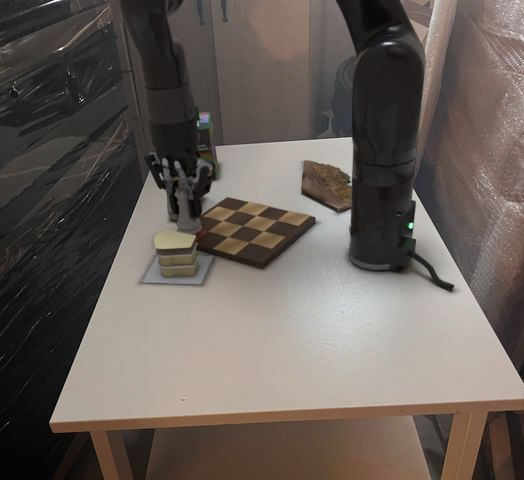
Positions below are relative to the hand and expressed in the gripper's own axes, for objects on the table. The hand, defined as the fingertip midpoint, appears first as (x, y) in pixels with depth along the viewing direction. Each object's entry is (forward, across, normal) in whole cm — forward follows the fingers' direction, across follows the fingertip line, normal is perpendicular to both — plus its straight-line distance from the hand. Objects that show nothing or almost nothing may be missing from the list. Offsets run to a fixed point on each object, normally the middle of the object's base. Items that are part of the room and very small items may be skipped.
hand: (187, 214), depth 102 cm
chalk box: (+5, -18, +25) cm, 31 cm away
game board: (+5, +7, +7) cm, 11 cm away
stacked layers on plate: (+5, +4, -9) cm, 11 cm away
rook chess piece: (+3, 0, 0) cm, 3 cm away
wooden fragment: (+5, +10, +31) cm, 33 cm away
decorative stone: (+5, -9, +10) cm, 14 cm away
